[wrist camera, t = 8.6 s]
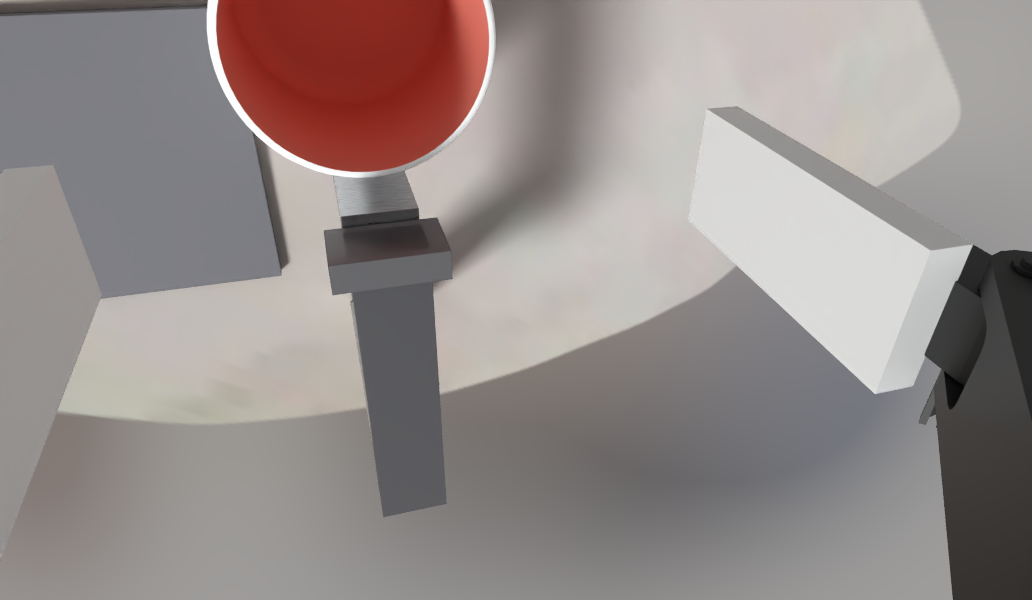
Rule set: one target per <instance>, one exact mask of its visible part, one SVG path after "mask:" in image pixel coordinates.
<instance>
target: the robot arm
mask: <svg viewBox="0 0 1032 600" xmlns="http://www.w3.org/2000/svg"><path fill="white" fill-rule="evenodd" d="M688 220H689V221H690V222H691V223H692V224H693V225H694V226H695V227H696V228H697V229H698V230H699V231H701V232H702V233H703V234H704V235H705V236H706V237H707V238H708V239H709V240H710V241H711V242H712V243H713V244H714V245H716V246H717V247H718V248H719V249H720V250H721V251H722V252H723V253H724V254H725V255H726V256H727V257H728V258H730V259H731V260H732V261H733V262H734V263H735V264H736V265H737V266H738V267H739V268H740V269H741V270H742V271H744V272H745V273H746V274H747V275H748V276H749V277H750V278H751V279H752V280H753V281H754V282H755V283H756V284H758V285H759V286H760V287H761V288H762V289H763V290H764V291H765V292H766V293H768V295H769V296H770V297H772V298H773V299H774V300H775V301H776V302H777V303H778V304H779V305H780V306H781V307H782V308H783V309H784V310H785V311H787V312H788V313H789V314H790V315H791V316H792V317H793V318H794V319H796V321H797V322H798V323H799V324H801V325H802V326H803V327H804V328H805V329H806V330H807V331H808V332H809V333H810V334H811V335H812V336H813V337H815V338H816V339H817V340H818V341H819V342H820V343H821V344H822V345H823V346H824V347H825V348H826V349H827V350H829V351H830V352H831V353H832V354H833V355H834V356H835V357H836V358H837V359H838V360H839V361H840V362H841V363H842V364H843V365H845V366H846V367H847V368H848V369H849V370H850V371H851V372H852V373H853V374H854V375H855V376H856V377H858V378H859V379H860V380H861V381H862V382H863V383H864V384H865V385H866V386H867V387H868V388H869V389H870V390H871V391H873V392H874V393H875V394H877V393H882V392H886V391H891V390H896V389H901V388H906V387H911V386H913V384H914V382H915V379H916V377H917V375H918V372H919V370H920V368H921V365H922V363H923V361H924V358H925V356H926V357H927V358H929V359H930V360H931V361H932V362H934V363H935V364H936V365H937V366H939V367H940V368H941V372H940V374H939V376H938V378H937V380H936V383H935V385H934V387H933V389H932V392H931V394H930V396H929V398H928V401H927V403H926V405H925V407H924V410H923V412H922V414H921V416H920V420H919V423H921V424H926V423H927V421H928V419H929V417H931V416H933V415H936V420H937V426H936V427H937V431H938V441H939V453H940V464H941V475H942V485H943V496H944V507H945V518H946V529H947V539H948V551H949V561H950V572H951V584H952V594H953V600H1032V252H1028V251H1019V250H1009V251H1000V252H998V253H996V254H994V255H990V254H988V253H987V252H985V251H983V250H982V249H980V248H978V247H976V246H974V245H973V244H971V243H970V242H968V241H967V240H965V239H963V238H961V237H960V236H958V235H956V234H955V233H953V232H951V231H949V230H948V229H946V228H944V227H943V226H941V225H939V224H938V223H936V222H934V221H932V220H931V219H929V218H927V217H925V216H924V215H922V214H920V213H919V212H917V211H915V210H913V209H912V208H910V207H908V206H907V205H905V204H903V203H902V202H900V201H898V200H896V199H895V198H893V197H891V196H889V195H888V194H886V193H884V192H883V191H881V190H879V189H878V188H876V187H874V186H873V185H871V184H869V183H867V182H866V181H864V180H862V179H861V178H859V177H857V176H855V175H854V174H852V173H850V172H849V171H847V170H845V169H843V168H842V167H840V166H838V165H837V164H835V163H833V162H831V161H830V160H828V159H826V158H825V157H823V156H821V155H819V154H818V153H816V152H814V151H813V150H811V149H809V148H808V147H806V146H804V145H802V144H801V143H799V142H797V141H796V140H794V139H792V138H790V137H789V136H787V135H785V134H784V133H782V132H780V131H778V130H777V129H775V128H773V127H772V126H770V125H768V124H766V123H765V122H763V121H761V120H760V119H758V118H756V117H754V116H753V115H751V114H749V113H748V112H746V111H744V110H743V109H741V108H739V107H737V106H736V107H724V108H712V109H707V110H706V116H705V122H704V128H703V134H702V140H701V146H700V152H699V158H698V164H697V170H696V176H695V183H694V189H693V195H692V201H691V207H690V213H689V219H688ZM101 295H102V294H101V291H100V288H99V286H98V283H97V280H96V278H95V275H94V272H93V270H92V267H91V264H90V262H89V259H88V256H87V254H86V251H85V248H84V246H83V243H82V240H81V238H80V235H79V232H78V230H77V227H76V224H75V222H74V219H73V217H72V214H71V211H70V209H69V206H68V203H67V201H66V198H65V195H64V193H63V190H62V187H61V185H60V182H59V179H58V177H57V174H56V171H55V169H54V166H53V165H47V166H35V167H24V168H12V169H4V170H3V171H2V173H1V174H0V559H1V556H2V554H3V551H4V549H5V546H6V543H7V541H8V538H9V535H10V533H11V530H12V527H13V525H14V522H15V520H16V517H17V514H18V512H19V509H20V507H21V504H22V501H23V499H24V496H25V494H26V491H27V489H28V486H29V483H30V481H31V478H32V475H33V473H34V470H35V468H36V465H37V462H38V460H39V457H40V455H41V452H42V449H43V447H44V444H45V442H46V439H47V436H48V434H49V431H50V428H51V426H52V423H53V421H54V418H55V416H56V413H57V410H58V408H59V405H60V402H61V400H62V397H63V395H64V392H65V389H66V387H67V384H68V382H69V379H70V376H71V374H72V371H73V369H74V366H75V363H76V361H77V358H78V355H79V353H80V350H81V348H82V345H83V342H84V340H85V337H86V335H87V332H88V329H89V327H90V324H91V321H92V319H93V316H94V314H95V311H96V308H97V306H98V303H99V301H100V298H101Z"/></svg>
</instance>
